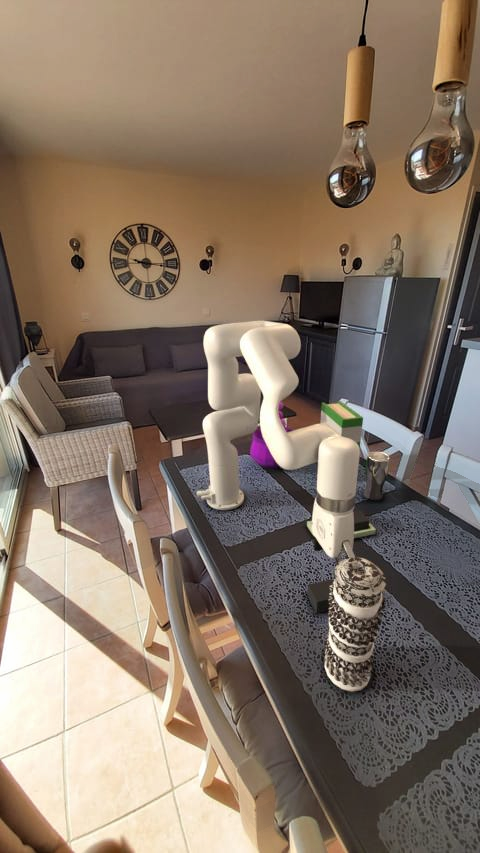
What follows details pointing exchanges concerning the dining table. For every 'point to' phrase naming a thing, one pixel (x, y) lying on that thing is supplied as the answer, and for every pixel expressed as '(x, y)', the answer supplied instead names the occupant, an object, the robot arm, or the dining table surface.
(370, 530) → the tray
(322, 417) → the hardback book
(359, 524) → the seated pad
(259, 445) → the decorative plant
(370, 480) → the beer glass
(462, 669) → the dining table surface
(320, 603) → the black rectangular block
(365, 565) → the decorative candle
